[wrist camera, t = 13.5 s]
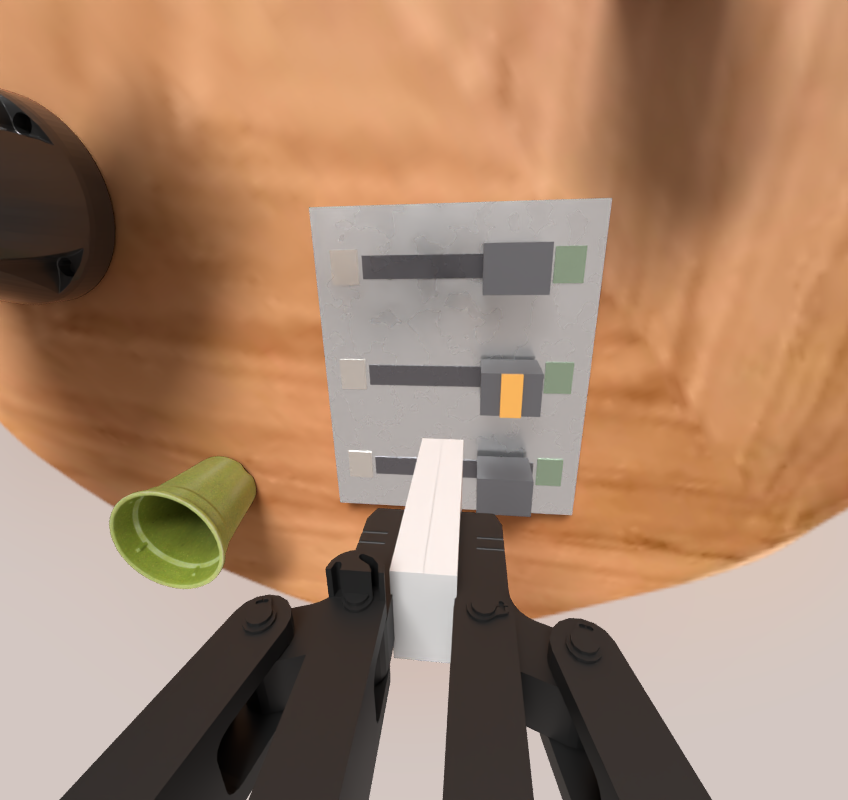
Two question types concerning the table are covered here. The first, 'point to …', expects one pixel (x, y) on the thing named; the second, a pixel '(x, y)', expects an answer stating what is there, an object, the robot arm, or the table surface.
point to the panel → (453, 339)
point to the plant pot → (183, 523)
